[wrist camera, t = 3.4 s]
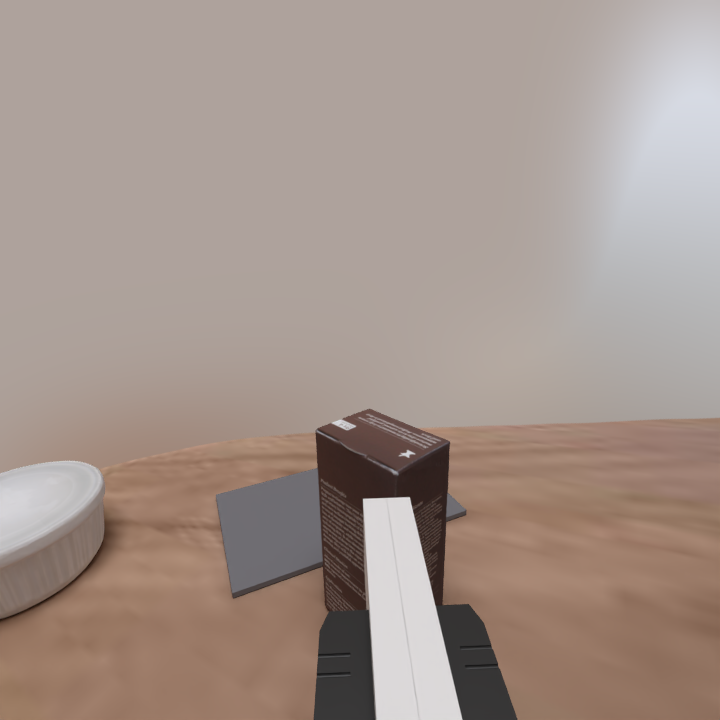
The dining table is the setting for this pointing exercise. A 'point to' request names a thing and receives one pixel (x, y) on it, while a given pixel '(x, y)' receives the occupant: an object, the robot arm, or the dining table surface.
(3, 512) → the ramekin
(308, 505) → the mat
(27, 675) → the dining table surface
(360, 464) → the box
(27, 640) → the dining table surface
